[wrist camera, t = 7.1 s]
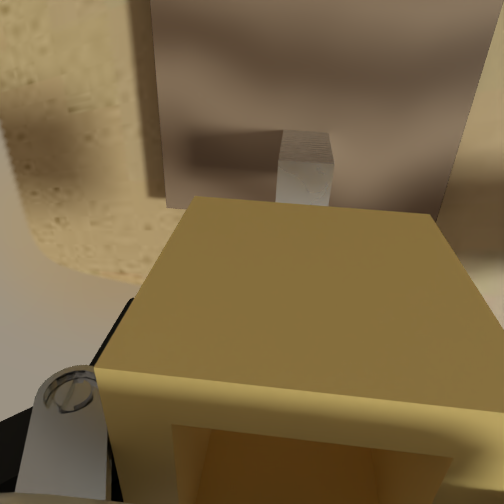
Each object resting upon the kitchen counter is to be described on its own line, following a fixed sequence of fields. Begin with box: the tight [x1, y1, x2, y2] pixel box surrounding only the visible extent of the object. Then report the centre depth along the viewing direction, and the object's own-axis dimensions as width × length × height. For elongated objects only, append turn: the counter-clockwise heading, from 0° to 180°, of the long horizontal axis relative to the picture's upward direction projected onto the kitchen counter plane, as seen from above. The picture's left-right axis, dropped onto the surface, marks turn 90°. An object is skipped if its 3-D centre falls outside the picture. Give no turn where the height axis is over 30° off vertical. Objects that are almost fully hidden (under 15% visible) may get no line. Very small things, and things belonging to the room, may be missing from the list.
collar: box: [94, 196, 504, 504], centre depth 9 cm, size 6×6×6 cm
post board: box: [150, 0, 504, 223], centre depth 18 cm, size 18×16×6 cm
